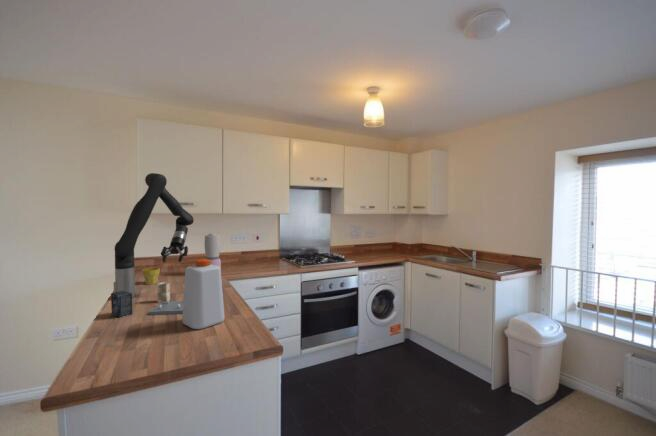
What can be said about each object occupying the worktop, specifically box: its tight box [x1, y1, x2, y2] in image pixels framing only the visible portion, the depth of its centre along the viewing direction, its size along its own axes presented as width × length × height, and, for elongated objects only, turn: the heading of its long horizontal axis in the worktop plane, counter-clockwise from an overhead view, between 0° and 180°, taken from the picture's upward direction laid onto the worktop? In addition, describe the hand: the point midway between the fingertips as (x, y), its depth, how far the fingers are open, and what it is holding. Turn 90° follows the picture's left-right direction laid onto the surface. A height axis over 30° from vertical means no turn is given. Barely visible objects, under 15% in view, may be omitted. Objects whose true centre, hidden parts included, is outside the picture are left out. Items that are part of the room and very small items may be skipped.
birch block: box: [157, 281, 171, 304], centre depth 165 cm, size 4×4×10 cm
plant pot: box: [141, 267, 161, 285], centre depth 206 cm, size 10×10×10 cm
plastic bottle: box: [181, 258, 225, 330], centre depth 134 cm, size 15×15×28 cm
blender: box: [204, 232, 222, 270], centre depth 234 cm, size 16×12×32 cm
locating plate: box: [148, 299, 184, 316], centre depth 152 cm, size 16×16×4 cm
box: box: [110, 291, 133, 318], centre depth 144 cm, size 8×6×11 cm
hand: (171, 261), depth 176 cm, fingers open, 8 cm apart
